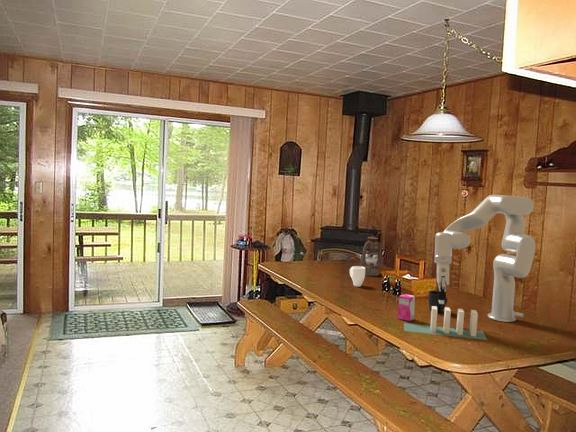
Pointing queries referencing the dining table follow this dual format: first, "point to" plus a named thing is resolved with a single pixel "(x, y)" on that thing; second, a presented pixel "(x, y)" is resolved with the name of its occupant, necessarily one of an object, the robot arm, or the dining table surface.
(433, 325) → the domino
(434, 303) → the mug
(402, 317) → the supplement box
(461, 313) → the domino
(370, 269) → the lantern
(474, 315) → the domino
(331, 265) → the dining table surface
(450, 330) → the runner mat
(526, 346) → the dining table surface
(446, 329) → the domino
